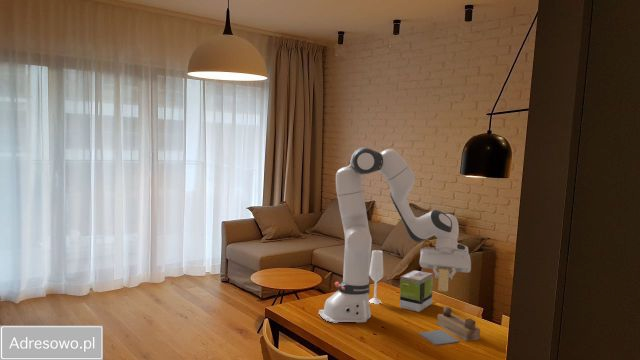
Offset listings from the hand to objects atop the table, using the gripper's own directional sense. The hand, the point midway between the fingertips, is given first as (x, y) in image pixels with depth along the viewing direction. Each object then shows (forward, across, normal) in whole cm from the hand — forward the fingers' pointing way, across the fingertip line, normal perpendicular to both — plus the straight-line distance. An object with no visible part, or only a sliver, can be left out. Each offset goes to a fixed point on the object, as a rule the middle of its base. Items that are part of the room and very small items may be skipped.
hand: (443, 278), depth 183 cm
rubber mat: (+21, 0, +8) cm, 23 cm away
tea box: (-3, -13, +33) cm, 35 cm away
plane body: (+14, +6, +16) cm, 22 cm away
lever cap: (+3, 0, +4) cm, 5 cm away
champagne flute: (-1, -31, +31) cm, 44 cm away
